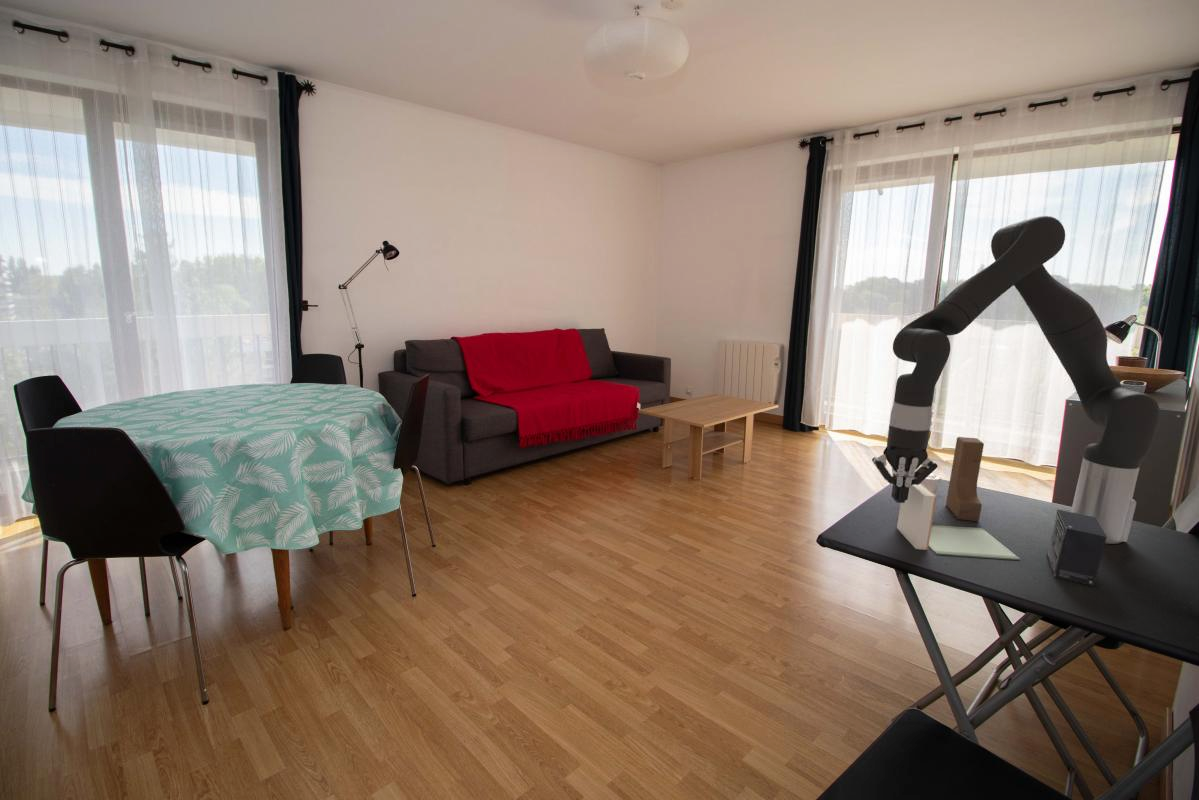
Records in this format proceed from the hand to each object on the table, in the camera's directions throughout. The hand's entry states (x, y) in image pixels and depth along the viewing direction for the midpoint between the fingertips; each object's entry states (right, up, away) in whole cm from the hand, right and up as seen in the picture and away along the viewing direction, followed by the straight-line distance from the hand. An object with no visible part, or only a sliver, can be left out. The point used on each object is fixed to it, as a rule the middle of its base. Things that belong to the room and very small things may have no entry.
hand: (898, 501), depth 120 cm
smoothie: (+13, -6, +15) cm, 21 cm away
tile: (+4, -8, +1) cm, 9 cm away
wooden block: (+23, -6, +15) cm, 28 cm away
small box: (+28, -12, -11) cm, 32 cm away
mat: (+14, -9, 0) cm, 16 cm away
